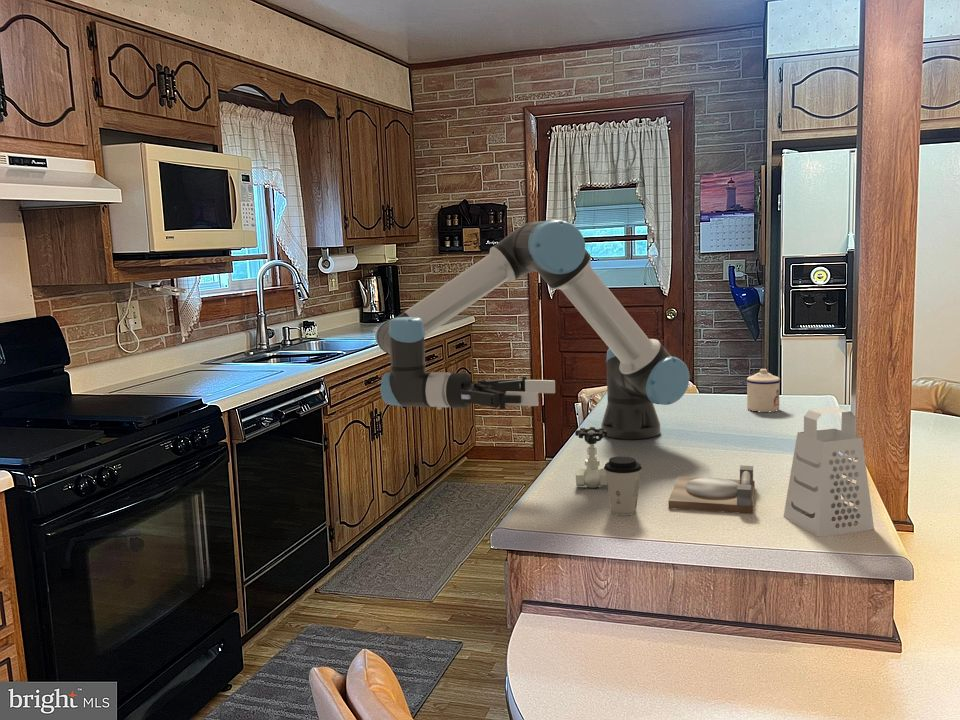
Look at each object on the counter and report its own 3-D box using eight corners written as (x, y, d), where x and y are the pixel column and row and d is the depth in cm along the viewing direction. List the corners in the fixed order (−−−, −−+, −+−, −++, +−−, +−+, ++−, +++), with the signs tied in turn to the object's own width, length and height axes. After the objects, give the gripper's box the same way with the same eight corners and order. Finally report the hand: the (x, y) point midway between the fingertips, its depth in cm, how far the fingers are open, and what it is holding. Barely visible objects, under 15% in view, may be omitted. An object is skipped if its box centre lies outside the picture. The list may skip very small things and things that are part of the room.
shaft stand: (677, 483, 170) (677, 462, 170) (754, 487, 165) (754, 466, 164) (668, 508, 155) (668, 485, 155) (752, 513, 150) (752, 489, 150)
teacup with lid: (781, 413, 230) (782, 371, 228) (747, 412, 232) (747, 372, 230) (777, 404, 241) (777, 365, 240) (744, 404, 244) (744, 365, 242)
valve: (608, 492, 166) (606, 434, 164) (575, 492, 168) (573, 434, 166) (609, 483, 173) (608, 427, 171) (578, 482, 174) (576, 426, 172)
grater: (874, 529, 140) (877, 414, 137) (818, 536, 138) (820, 419, 135) (835, 510, 150) (837, 402, 147) (783, 516, 148) (784, 407, 145)
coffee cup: (650, 512, 153) (649, 460, 152) (622, 520, 150) (621, 467, 148) (624, 503, 159) (623, 453, 158) (597, 511, 155) (595, 459, 154)
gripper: (471, 396, 189) (561, 398, 182) (429, 419, 166) (530, 423, 159) (469, 364, 188) (560, 365, 181) (427, 383, 165) (529, 385, 158)
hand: (546, 392), depth 170 cm, fingers open, 13 cm apart
